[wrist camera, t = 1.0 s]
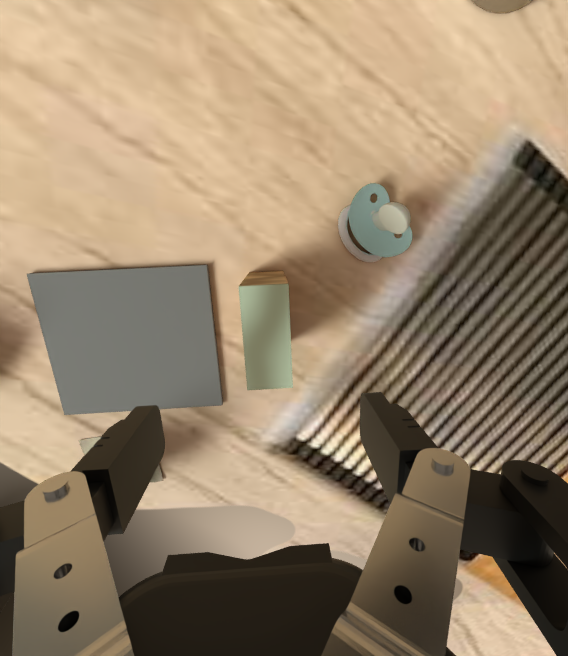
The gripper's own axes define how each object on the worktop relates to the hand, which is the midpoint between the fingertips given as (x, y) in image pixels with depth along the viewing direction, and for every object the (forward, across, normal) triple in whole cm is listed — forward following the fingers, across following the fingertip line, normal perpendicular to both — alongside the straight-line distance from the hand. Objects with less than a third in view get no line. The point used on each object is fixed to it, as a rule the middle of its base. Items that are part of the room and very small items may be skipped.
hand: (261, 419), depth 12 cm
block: (+22, 0, 0) cm, 22 cm away
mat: (+22, +15, +3) cm, 27 cm away
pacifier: (+22, -11, -8) cm, 26 cm away
